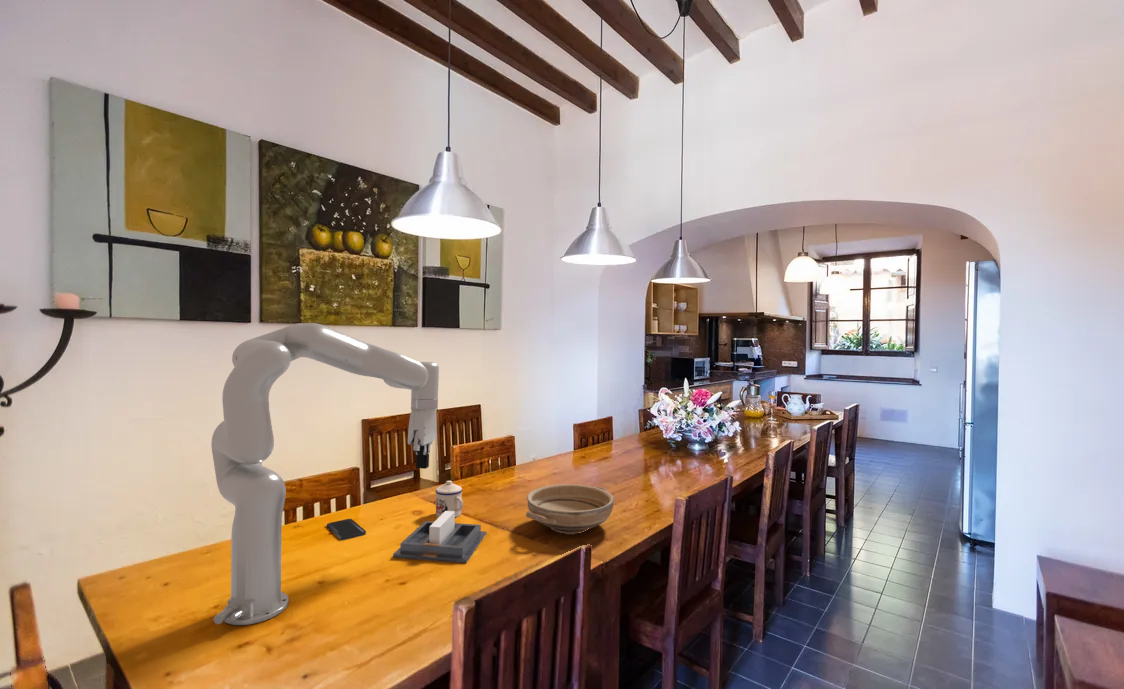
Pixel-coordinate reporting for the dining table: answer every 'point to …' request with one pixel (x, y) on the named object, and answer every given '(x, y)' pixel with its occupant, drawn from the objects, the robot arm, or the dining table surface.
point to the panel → (442, 527)
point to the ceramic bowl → (570, 507)
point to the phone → (346, 529)
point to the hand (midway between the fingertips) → (422, 467)
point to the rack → (442, 544)
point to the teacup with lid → (449, 499)
